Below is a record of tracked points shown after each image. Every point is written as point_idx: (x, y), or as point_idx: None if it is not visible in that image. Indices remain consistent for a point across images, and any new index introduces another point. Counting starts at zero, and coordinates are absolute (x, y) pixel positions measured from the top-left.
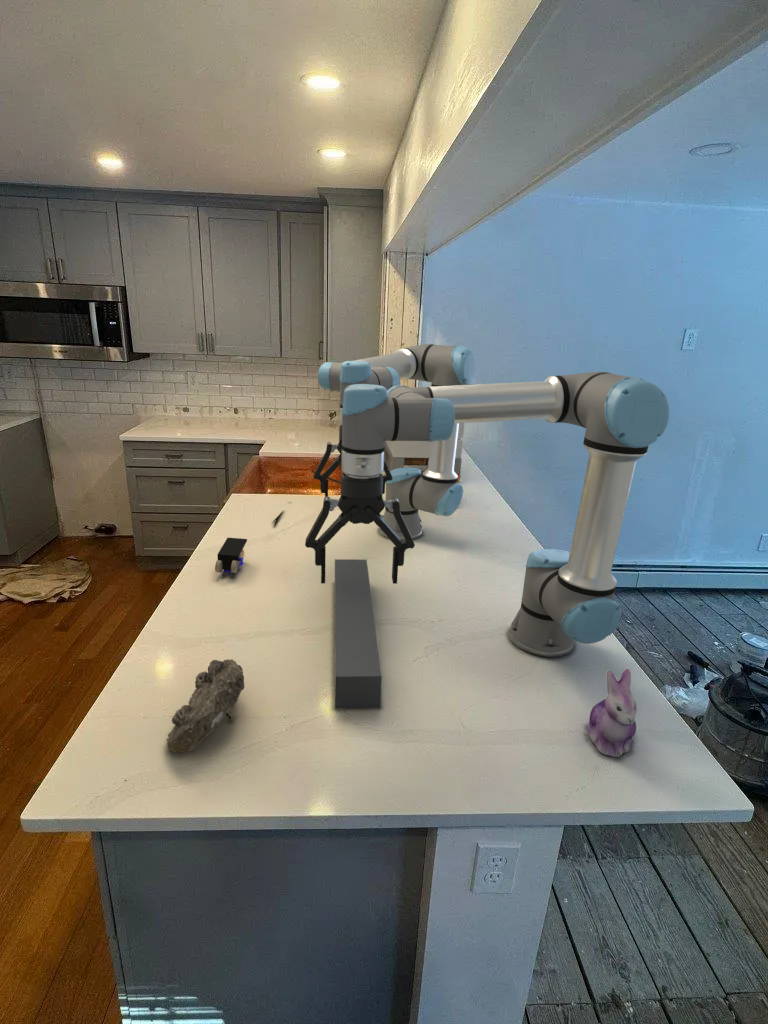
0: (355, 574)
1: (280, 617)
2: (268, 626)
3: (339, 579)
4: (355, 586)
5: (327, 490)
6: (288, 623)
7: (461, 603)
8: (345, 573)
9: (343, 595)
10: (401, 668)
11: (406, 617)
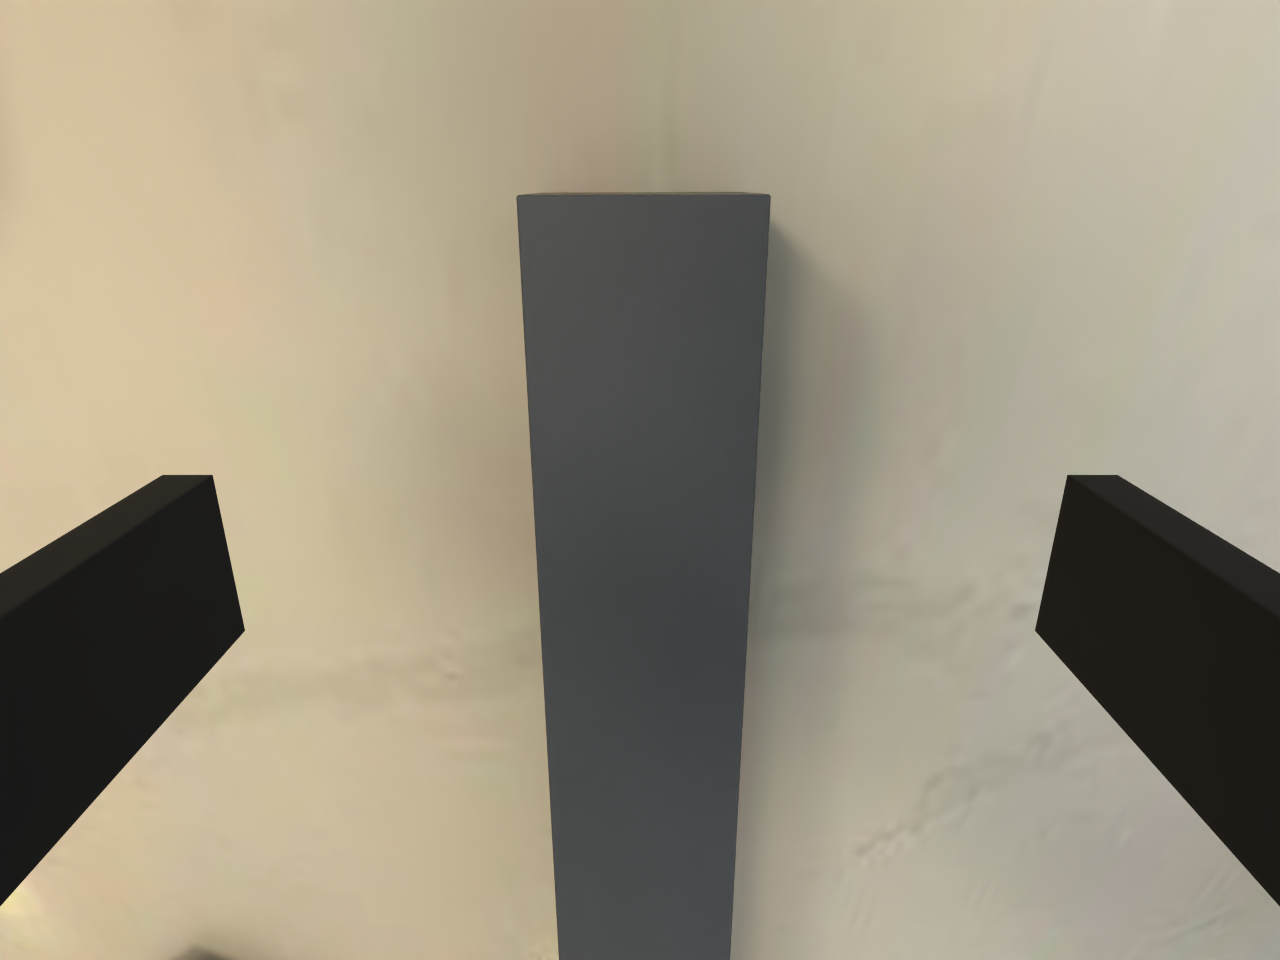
0: (668, 452)
1: (299, 570)
2: (265, 640)
3: (562, 522)
4: (661, 606)
5: (47, 840)
6: (349, 618)
7: (1247, 444)
8: (601, 438)
9: (590, 701)
10: (806, 884)
11: (907, 574)
